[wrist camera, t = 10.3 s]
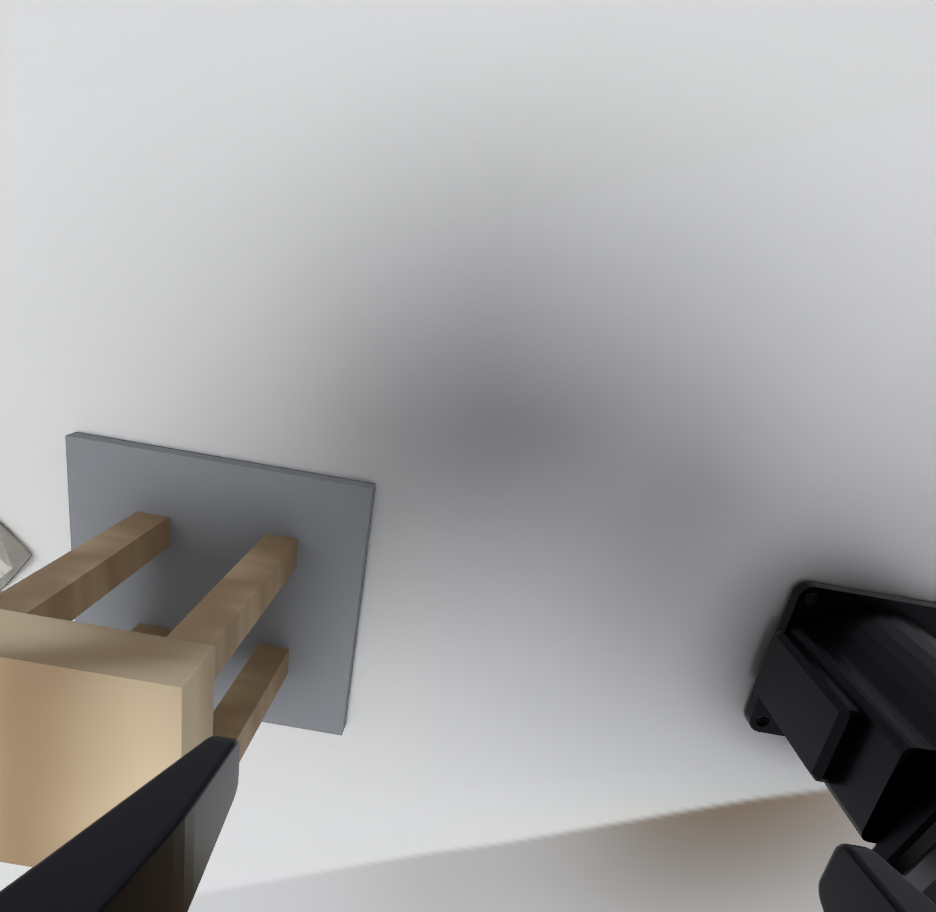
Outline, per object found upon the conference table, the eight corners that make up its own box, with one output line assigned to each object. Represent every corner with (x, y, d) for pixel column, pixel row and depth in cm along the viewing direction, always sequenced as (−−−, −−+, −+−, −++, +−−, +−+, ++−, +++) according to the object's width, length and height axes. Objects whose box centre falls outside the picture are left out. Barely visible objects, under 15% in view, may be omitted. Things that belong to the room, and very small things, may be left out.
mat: (375, 484, 19) (372, 488, 19) (345, 725, 23) (341, 735, 22) (76, 432, 19) (65, 435, 19) (87, 681, 22) (78, 690, 22)
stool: (304, 535, 20) (181, 687, 12) (291, 679, 21) (179, 891, 14) (131, 505, 20) (-103, 639, 12) (134, 652, 21) (-67, 850, 14)
